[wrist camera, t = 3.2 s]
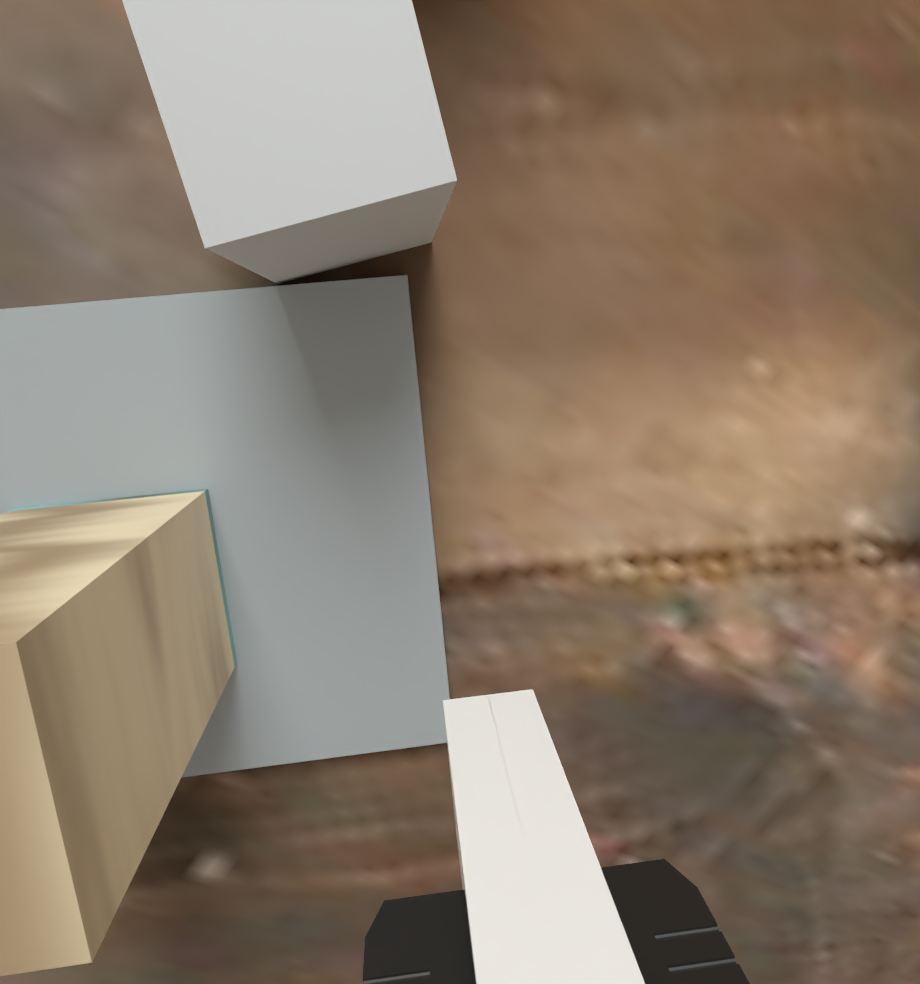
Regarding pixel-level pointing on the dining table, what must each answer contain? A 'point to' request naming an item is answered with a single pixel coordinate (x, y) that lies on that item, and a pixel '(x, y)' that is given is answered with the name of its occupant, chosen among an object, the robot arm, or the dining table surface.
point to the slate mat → (259, 490)
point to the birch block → (98, 703)
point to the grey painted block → (299, 127)
